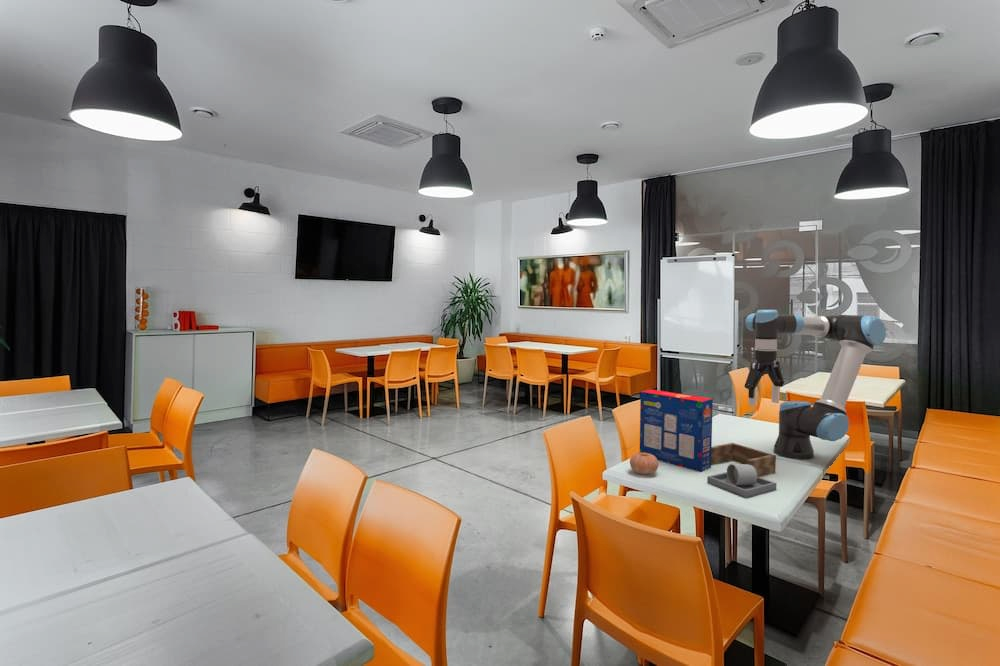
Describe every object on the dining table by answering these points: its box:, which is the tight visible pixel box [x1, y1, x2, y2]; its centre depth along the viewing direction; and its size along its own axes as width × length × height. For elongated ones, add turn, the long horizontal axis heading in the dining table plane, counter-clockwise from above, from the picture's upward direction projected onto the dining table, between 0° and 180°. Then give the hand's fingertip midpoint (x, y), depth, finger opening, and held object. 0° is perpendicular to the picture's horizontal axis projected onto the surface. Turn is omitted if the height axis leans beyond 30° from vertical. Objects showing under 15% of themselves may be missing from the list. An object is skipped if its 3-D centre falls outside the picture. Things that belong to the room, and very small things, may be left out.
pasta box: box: [639, 389, 714, 473], centre depth 211 cm, size 28×8×28 cm, turn 40°
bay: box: [711, 442, 777, 478], centre depth 202 cm, size 15×20×7 cm
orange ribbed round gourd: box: [629, 452, 659, 476], centre depth 198 cm, size 11×11×8 cm
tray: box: [706, 471, 777, 499], centre depth 183 cm, size 16×16×2 cm
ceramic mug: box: [726, 463, 758, 486], centre depth 185 cm, size 11×8×8 cm
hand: (764, 404), depth 197 cm, fingers open, 13 cm apart
